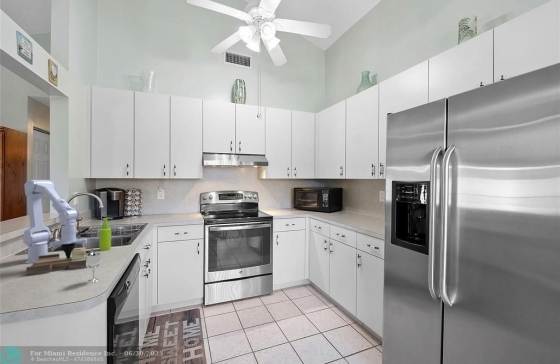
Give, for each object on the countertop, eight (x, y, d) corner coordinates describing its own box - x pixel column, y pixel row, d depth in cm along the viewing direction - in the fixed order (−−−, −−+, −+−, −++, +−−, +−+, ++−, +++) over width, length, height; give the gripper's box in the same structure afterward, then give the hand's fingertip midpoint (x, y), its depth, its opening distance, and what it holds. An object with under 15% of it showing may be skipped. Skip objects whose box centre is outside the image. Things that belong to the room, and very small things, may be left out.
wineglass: (91, 278, 112) (91, 252, 112) (104, 278, 113) (104, 252, 113) (82, 283, 107) (82, 256, 106) (95, 283, 107) (96, 256, 107)
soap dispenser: (114, 248, 158) (115, 217, 157) (103, 251, 151) (104, 219, 151) (108, 247, 160) (108, 216, 159) (97, 250, 153) (97, 218, 153)
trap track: (39, 262, 129) (39, 254, 129) (93, 256, 141) (93, 248, 141) (26, 275, 113) (26, 266, 113) (88, 267, 125) (88, 258, 125)
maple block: (73, 257, 131) (73, 248, 131) (85, 256, 134) (85, 247, 134) (71, 260, 127) (71, 251, 127) (83, 259, 129) (84, 249, 129)
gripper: (47, 235, 121) (47, 262, 121) (85, 232, 128) (84, 258, 128) (51, 232, 127) (51, 258, 127) (87, 230, 134) (86, 254, 134)
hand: (68, 258), depth 128 cm, fingers closed
